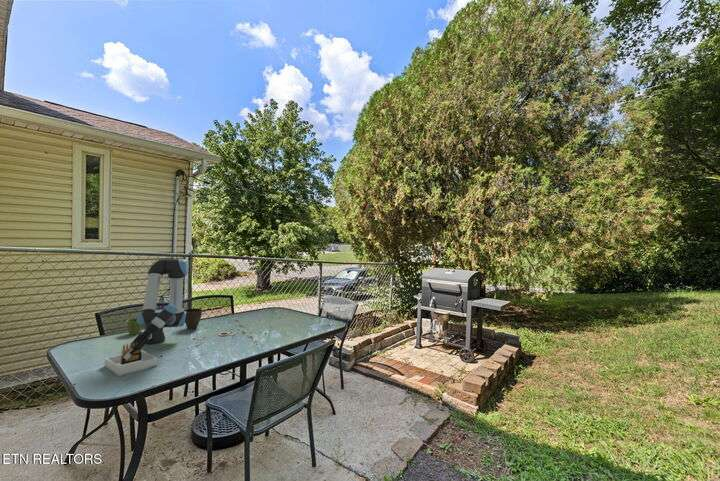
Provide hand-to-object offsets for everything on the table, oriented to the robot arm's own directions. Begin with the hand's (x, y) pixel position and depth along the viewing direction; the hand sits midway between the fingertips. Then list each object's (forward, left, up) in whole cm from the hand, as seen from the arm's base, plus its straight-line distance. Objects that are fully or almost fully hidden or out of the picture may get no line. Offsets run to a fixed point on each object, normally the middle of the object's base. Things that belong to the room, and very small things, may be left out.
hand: (124, 358), depth 191 cm
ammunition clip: (0, +4, -4) cm, 5 cm away
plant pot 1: (-68, +32, -6) cm, 75 cm away
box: (0, +4, -6) cm, 7 cm away
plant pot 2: (-52, +70, -6) cm, 87 cm away
